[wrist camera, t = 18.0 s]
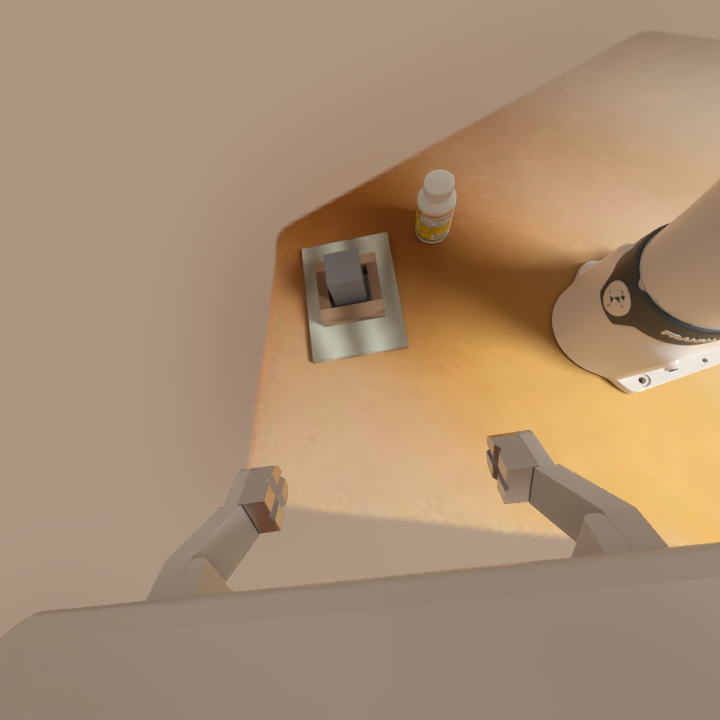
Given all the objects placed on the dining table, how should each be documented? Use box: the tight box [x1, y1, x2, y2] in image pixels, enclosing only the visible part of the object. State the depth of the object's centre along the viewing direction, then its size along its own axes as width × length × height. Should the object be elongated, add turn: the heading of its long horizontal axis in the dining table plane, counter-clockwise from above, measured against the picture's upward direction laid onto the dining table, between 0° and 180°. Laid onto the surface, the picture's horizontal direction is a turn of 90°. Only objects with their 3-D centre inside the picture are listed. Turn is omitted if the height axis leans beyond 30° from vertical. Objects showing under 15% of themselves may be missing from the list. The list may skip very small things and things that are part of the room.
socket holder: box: [302, 232, 408, 363], centre depth 46 cm, size 14×19×4 cm
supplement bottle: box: [415, 170, 457, 244], centre depth 45 cm, size 5×5×10 cm
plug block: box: [323, 248, 368, 307], centre depth 43 cm, size 4×4×8 cm
